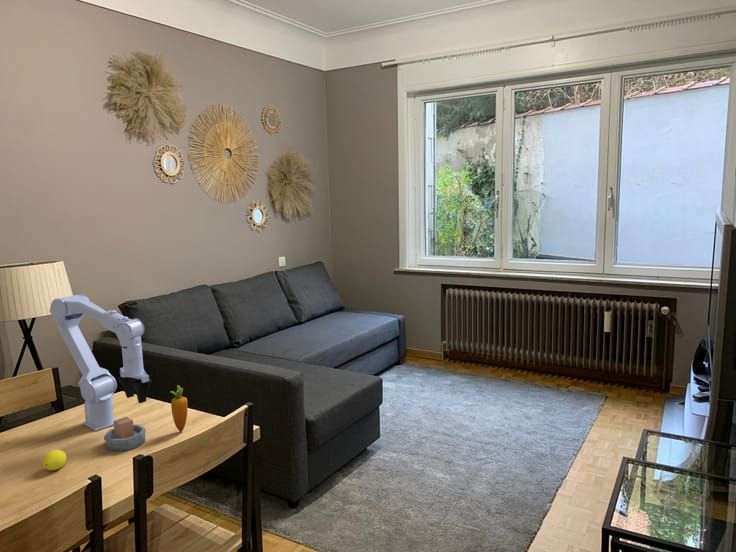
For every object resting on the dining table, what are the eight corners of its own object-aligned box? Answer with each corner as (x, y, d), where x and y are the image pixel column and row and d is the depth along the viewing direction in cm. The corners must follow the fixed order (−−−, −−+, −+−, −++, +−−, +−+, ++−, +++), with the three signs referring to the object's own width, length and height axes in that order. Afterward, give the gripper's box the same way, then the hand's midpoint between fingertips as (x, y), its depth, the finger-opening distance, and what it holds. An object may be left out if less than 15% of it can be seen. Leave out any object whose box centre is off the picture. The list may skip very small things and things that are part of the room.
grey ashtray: (99, 444, 165) (98, 433, 165) (134, 432, 173) (133, 421, 173) (116, 455, 158) (115, 443, 158) (152, 441, 166) (151, 430, 166)
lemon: (54, 465, 154) (54, 446, 154) (72, 465, 153) (71, 446, 153) (36, 474, 147) (36, 454, 147) (55, 475, 146) (55, 455, 146)
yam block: (114, 436, 165) (113, 421, 164) (127, 432, 168) (126, 416, 167) (121, 440, 162) (119, 424, 162) (134, 435, 166) (132, 420, 165)
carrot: (184, 435, 171) (181, 389, 168) (169, 434, 172) (166, 389, 169) (192, 429, 175) (189, 384, 173) (178, 428, 176) (175, 383, 174)
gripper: (109, 357, 173) (113, 398, 175) (131, 365, 164) (135, 408, 166) (130, 352, 178) (134, 392, 180) (153, 359, 169) (157, 401, 171)
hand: (136, 399), depth 173 cm, fingers open, 7 cm apart
